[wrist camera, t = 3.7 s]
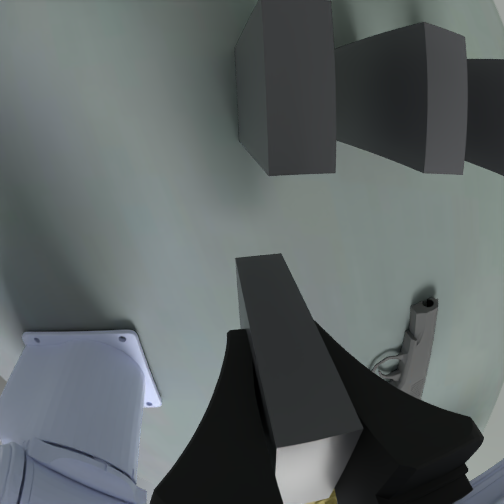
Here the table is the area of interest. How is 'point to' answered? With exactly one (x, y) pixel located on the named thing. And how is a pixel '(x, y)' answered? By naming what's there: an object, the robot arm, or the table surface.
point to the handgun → (415, 350)
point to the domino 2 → (294, 383)
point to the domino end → (485, 114)
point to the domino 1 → (288, 87)
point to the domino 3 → (405, 97)
